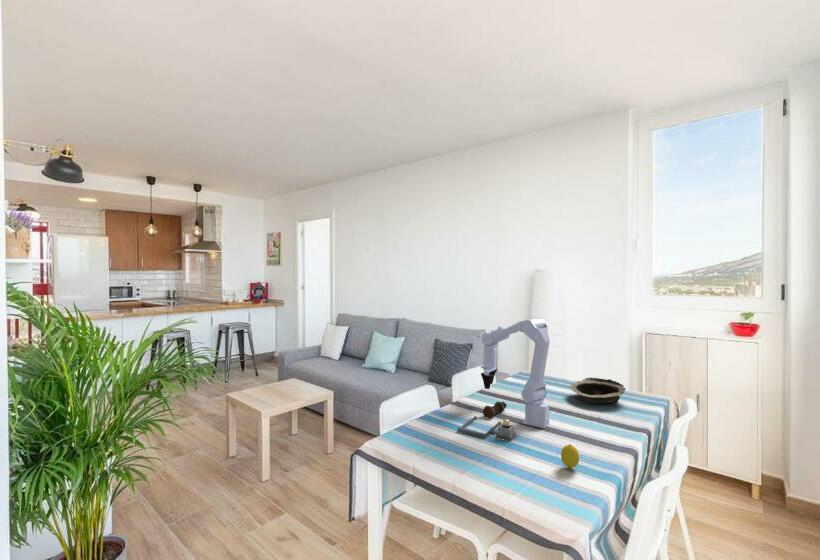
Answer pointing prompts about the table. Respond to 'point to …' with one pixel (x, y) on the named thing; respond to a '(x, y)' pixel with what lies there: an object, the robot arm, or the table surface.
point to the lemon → (570, 456)
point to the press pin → (506, 423)
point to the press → (491, 431)
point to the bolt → (494, 409)
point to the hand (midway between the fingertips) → (488, 386)
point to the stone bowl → (598, 390)
